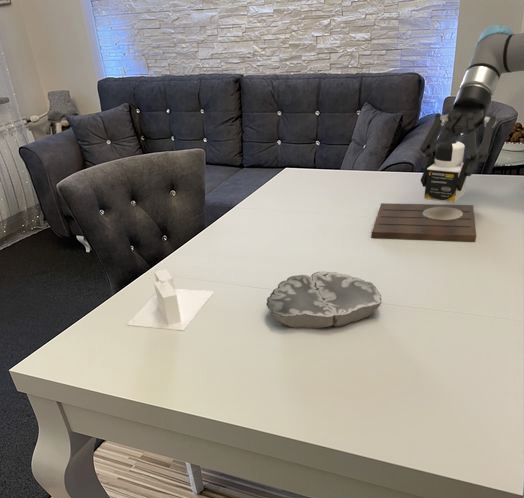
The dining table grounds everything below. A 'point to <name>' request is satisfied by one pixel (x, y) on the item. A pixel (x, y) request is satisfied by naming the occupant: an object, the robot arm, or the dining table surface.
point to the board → (425, 222)
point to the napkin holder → (170, 305)
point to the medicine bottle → (445, 172)
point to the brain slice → (323, 300)
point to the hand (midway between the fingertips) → (440, 185)
